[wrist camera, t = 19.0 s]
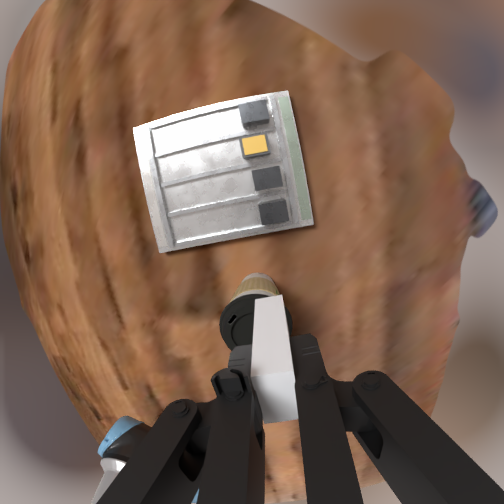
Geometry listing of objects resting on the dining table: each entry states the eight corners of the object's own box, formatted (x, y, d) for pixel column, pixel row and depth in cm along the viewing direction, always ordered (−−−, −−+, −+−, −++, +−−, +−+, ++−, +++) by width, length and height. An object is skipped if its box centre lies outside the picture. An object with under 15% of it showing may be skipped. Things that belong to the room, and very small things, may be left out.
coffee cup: (263, 323, 51) (262, 374, 37) (219, 293, 50) (203, 338, 36) (296, 283, 49) (309, 327, 35) (251, 251, 48) (247, 284, 33)
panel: (163, 250, 48) (151, 260, 43) (137, 129, 43) (122, 125, 37) (311, 222, 46) (318, 229, 40) (286, 94, 41) (290, 83, 35)
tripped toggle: (244, 159, 42) (242, 157, 38) (240, 140, 41) (238, 137, 37) (270, 154, 41) (271, 152, 37) (266, 136, 41) (266, 131, 36)
